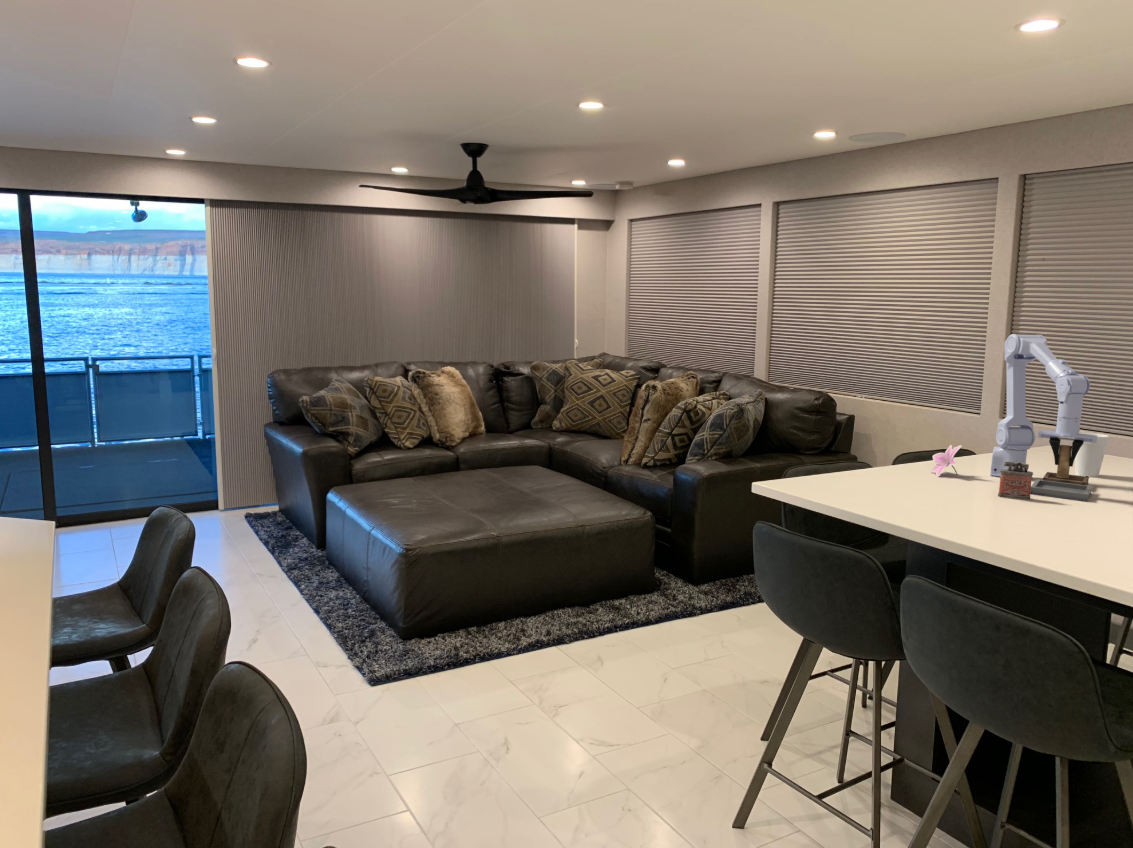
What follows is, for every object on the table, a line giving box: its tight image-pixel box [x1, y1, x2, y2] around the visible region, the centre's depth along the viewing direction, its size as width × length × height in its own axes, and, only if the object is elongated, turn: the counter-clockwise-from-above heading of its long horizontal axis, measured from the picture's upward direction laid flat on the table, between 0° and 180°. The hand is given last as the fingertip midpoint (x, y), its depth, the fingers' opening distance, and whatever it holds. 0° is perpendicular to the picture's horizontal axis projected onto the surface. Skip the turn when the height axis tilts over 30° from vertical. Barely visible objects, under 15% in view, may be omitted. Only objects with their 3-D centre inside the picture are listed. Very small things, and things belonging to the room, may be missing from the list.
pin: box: [1056, 444, 1072, 478], centre depth 244 cm, size 3×3×9 cm
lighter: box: [997, 461, 1034, 501], centre depth 238 cm, size 8×3×10 cm, turn 71°
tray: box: [1030, 478, 1092, 503], centre depth 245 cm, size 14×14×2 cm
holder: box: [1042, 471, 1090, 486], centre depth 256 cm, size 11×11×2 cm
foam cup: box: [1073, 431, 1110, 478], centre depth 273 cm, size 10×9×13 cm
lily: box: [929, 444, 962, 478], centre depth 268 cm, size 12×12×10 cm
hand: (1063, 465), depth 244 cm, fingers closed on pin, 3 cm apart
